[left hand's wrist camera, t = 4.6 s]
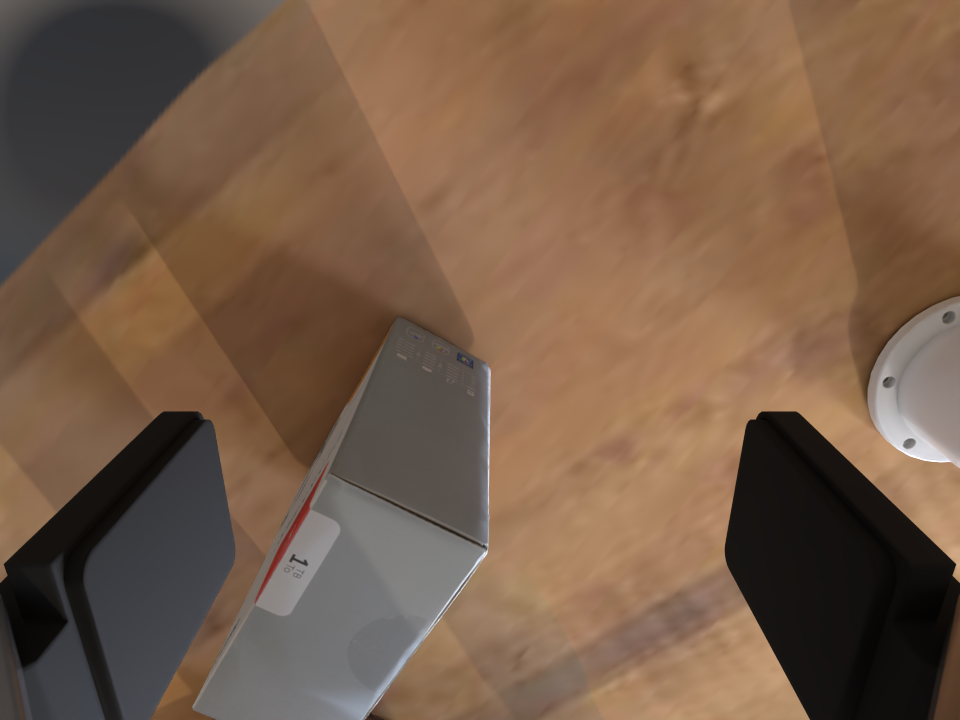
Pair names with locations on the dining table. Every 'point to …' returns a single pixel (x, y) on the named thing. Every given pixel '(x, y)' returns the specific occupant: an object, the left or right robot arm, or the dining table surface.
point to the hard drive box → (366, 542)
